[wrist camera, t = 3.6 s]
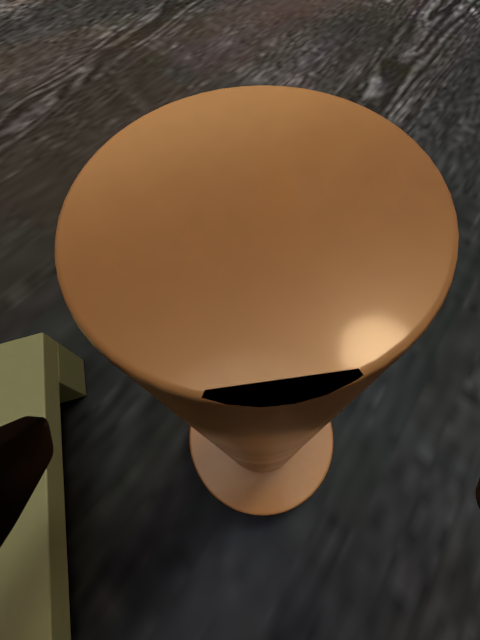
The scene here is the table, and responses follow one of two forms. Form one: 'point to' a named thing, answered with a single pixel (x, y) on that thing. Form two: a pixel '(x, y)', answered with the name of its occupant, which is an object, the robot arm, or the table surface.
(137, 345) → the wooden peg stand
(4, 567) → the shelf
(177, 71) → the table surface
